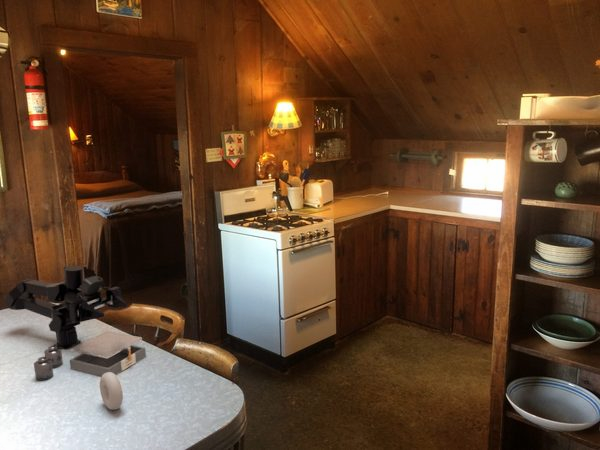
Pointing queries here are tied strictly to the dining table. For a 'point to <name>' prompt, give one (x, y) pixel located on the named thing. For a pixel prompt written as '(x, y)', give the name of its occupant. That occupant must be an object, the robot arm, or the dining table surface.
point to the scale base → (82, 365)
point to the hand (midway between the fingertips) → (115, 310)
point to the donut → (111, 390)
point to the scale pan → (107, 344)
